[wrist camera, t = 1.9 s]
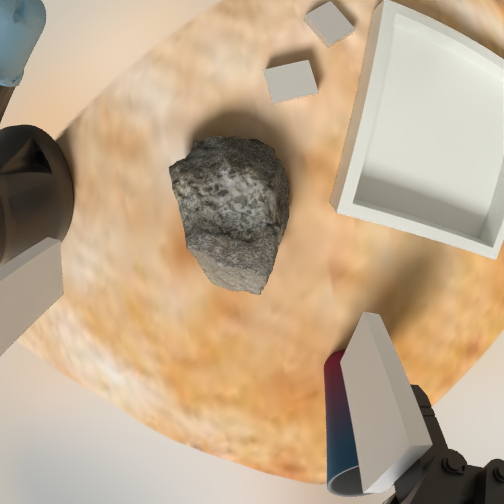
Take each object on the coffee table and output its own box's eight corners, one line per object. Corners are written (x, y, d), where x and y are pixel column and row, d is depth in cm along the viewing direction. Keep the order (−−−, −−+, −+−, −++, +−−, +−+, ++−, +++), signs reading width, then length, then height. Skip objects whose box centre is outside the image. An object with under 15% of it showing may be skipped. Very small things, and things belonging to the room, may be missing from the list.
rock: (172, 148, 26) (145, 156, 20) (271, 119, 25) (271, 117, 19) (218, 285, 31) (207, 324, 25) (308, 265, 30) (317, 301, 24)
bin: (329, 202, 27) (336, 212, 24) (372, 11, 20) (384, -2, 17) (478, 246, 27) (495, 259, 24) (517, 85, 20) (538, 85, 17)
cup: (372, 335, 32) (411, 450, 18) (376, 378, 34) (406, 484, 20) (310, 351, 33) (321, 472, 19) (321, 392, 35) (332, 502, 21)
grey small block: (273, 104, 25) (273, 103, 23) (264, 74, 24) (263, 70, 22) (315, 95, 24) (318, 92, 22) (306, 64, 23) (308, 59, 21)
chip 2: (303, 21, 22) (305, 14, 20) (327, 7, 21) (330, 0, 19) (327, 49, 22) (331, 44, 21) (350, 35, 22) (355, 29, 20)
